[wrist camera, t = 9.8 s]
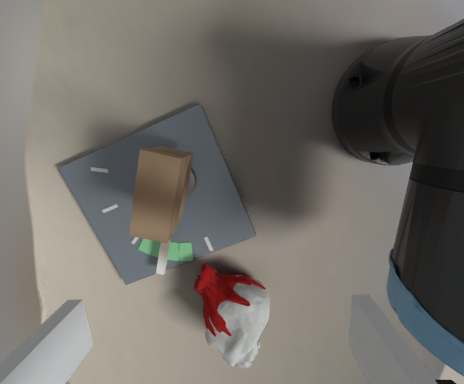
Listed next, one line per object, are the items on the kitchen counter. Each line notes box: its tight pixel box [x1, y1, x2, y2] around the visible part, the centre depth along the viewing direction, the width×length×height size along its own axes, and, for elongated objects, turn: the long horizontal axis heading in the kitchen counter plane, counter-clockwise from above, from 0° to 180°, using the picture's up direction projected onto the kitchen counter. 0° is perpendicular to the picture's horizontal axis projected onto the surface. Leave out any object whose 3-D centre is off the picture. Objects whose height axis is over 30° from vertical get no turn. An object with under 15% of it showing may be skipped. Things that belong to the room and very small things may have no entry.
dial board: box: [58, 104, 256, 285], centre depth 35 cm, size 22×20×1 cm
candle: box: [194, 264, 270, 369], centre depth 35 cm, size 9×11×15 cm
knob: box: [129, 146, 197, 275], centre depth 30 cm, size 18×5×10 cm, turn 168°
